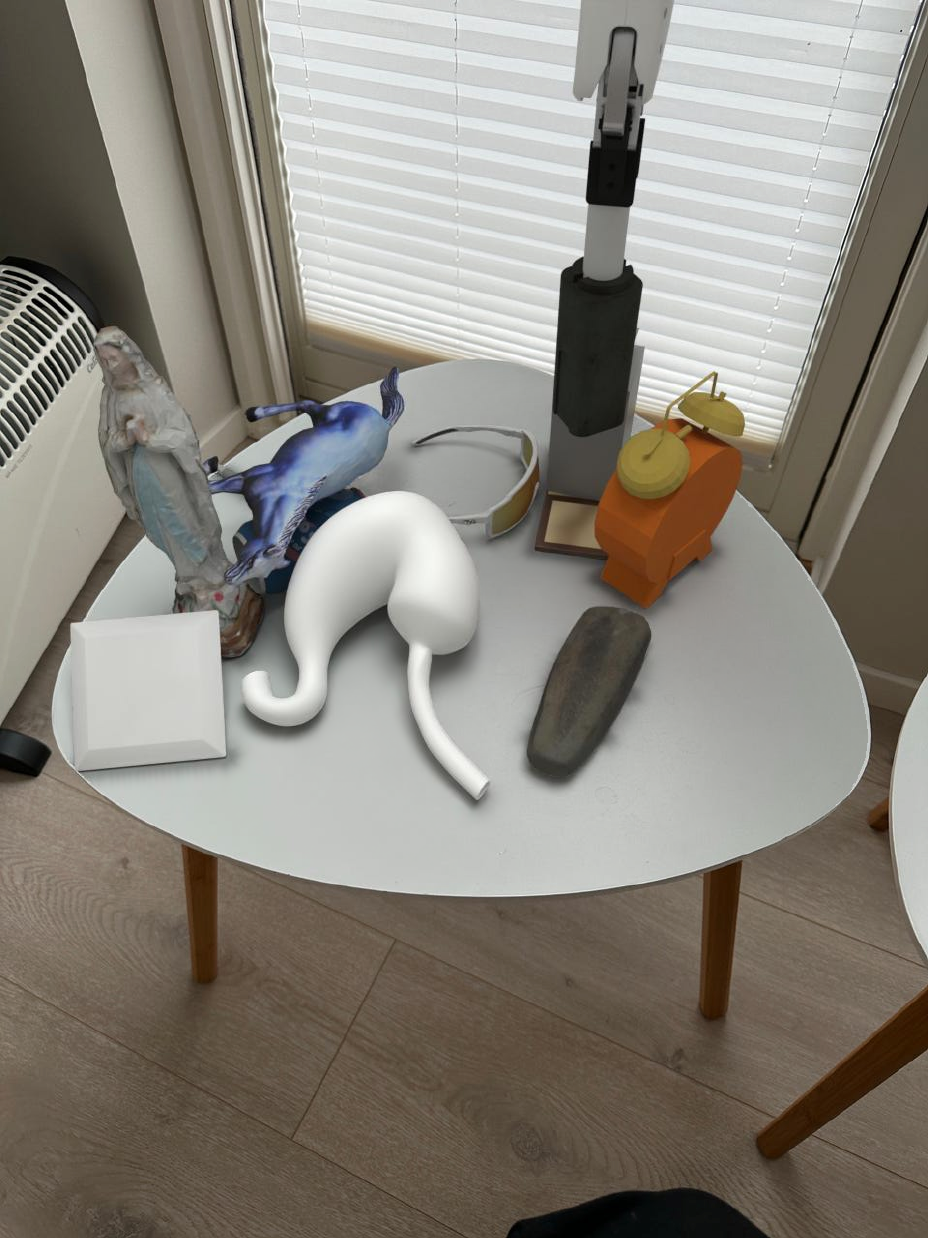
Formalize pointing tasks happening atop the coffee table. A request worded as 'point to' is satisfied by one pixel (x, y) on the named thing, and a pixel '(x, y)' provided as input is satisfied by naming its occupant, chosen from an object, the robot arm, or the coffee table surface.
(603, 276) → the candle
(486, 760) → the coffee table surface
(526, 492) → the sunglasses
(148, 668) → the white chamfered tile
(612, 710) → the decorative stone
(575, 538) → the brown picture frame
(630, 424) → the perfume bottle
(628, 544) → the alarm clock
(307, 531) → the soda can
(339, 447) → the toy
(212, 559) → the statue
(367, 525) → the stomach
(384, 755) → the coffee table surface
